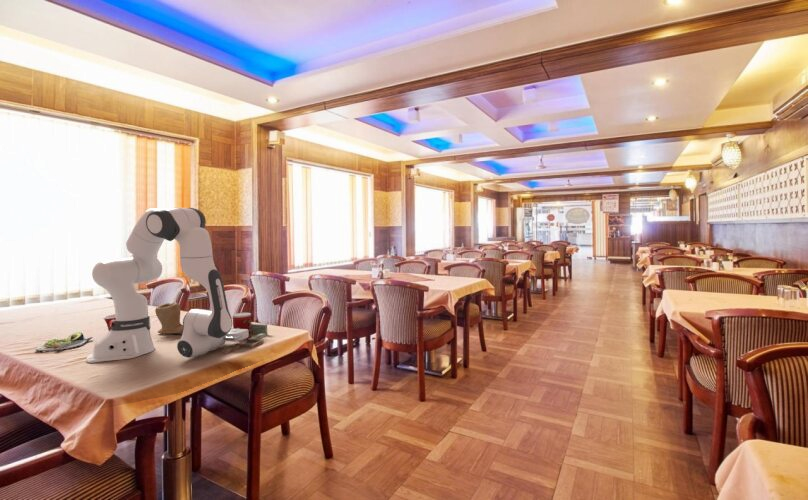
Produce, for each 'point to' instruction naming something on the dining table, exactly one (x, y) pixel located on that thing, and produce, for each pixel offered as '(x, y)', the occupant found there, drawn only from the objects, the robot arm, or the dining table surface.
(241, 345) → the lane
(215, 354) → the dining table surface
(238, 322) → the canned food
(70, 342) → the salad plate
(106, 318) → the plastic cup
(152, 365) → the dining table surface
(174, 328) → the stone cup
